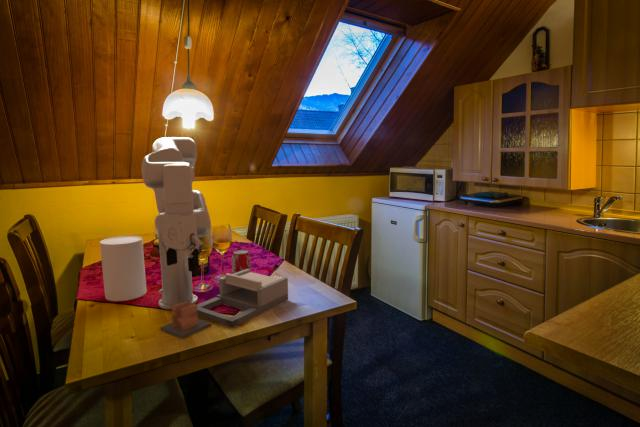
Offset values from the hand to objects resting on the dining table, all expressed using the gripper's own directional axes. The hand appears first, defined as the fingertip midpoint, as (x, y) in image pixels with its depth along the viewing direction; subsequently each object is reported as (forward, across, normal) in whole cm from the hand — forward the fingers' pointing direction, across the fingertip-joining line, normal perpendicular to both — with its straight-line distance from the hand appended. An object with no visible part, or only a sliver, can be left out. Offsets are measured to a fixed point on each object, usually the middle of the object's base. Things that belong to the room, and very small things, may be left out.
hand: (182, 267), depth 118 cm
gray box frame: (+18, +2, +20) cm, 27 cm away
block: (+18, 0, 0) cm, 18 cm away
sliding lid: (+12, +2, +27) cm, 29 cm away
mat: (+18, 0, 0) cm, 18 cm away
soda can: (+19, -16, +38) cm, 46 cm away
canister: (+19, -41, +5) cm, 45 cm away
